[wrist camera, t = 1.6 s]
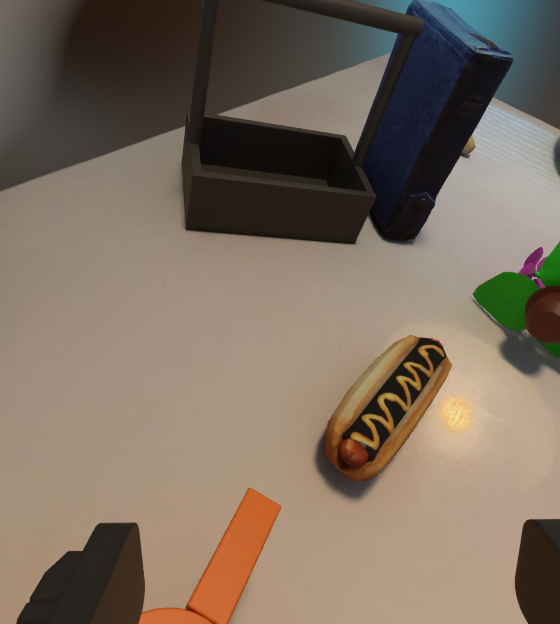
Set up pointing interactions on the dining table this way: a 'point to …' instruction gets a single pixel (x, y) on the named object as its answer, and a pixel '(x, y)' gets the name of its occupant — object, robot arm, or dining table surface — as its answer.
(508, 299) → the potted plant
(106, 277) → the dining table surface
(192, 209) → the basket
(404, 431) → the hot dog
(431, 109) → the book
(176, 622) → the measuring cup
